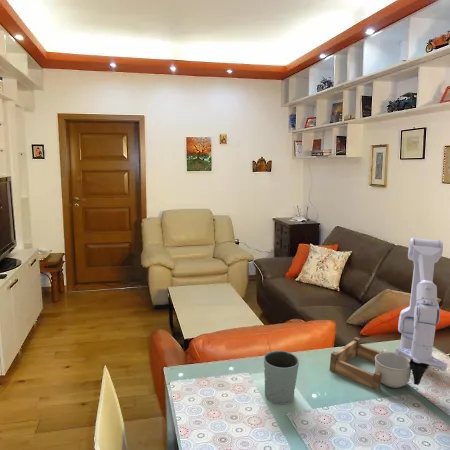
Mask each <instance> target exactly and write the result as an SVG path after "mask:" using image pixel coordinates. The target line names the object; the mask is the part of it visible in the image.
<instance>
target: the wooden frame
mask: <svg viewBox="0 0 450 450" xmlns="http://www.w3.org/2000/svg"><path fill="white" fill-rule="evenodd" d="M379 353H382V351H380V350H376V349H374V348H371V347H369V346H366V345H365V344H361V338H360V337H357V336H355V337H353V339H352V340H351V341H350V342H349V343H347V344H346V345H344V346H343V347H342V348H340V349H339V350H337V351H332V352H331V353H330V360H329V361H330V362H329V371H332V372H334V373H337V374H339V375H342V376H344V377H346V378H349V379H351V380H353V381H356V382H357V383H360V384H363V385H366V386H367V387H369V388H371V389H373V390H375V391H379V390H380V388H381V384H382V382H381V376H382V373H379V372H377V371H376V372H375V371H374V373H372V372H370V371H368V370H365V369H363V368H360V367H358V366H355V365H353V364H350V363H348V362H349V361H350V360H351V359H353V358H355V357H356V356H357V357H359V358H363V359H365V360H368V361H371V362H373V363H375V356H376V355H377V354H379Z"/></svg>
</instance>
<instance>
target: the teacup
mask: <svg viewBox="0 0 450 450" xmlns="http://www.w3.org/2000/svg"><path fill="white" fill-rule="evenodd" d="M381 352H382V353H379V354H377V355H376V356H375V362H374V373H375V372H376V371H377V372H379V373H382V376H381V384H383V385H384V386H387V387H390V388H395V389H396V388H398V389H399V388H401V387H403V386H405V385H407V384H409V381H410V380H411V373H412V370H411V367H410V365H409V362H410V359H409V358H407V357H404V356H402V355H396V354H395V352H392V351H391V352H390V351H389V350H388V349H382V350H381Z"/></svg>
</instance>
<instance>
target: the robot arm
mask: <svg viewBox="0 0 450 450" xmlns="http://www.w3.org/2000/svg"><path fill="white" fill-rule="evenodd" d="M443 251H444V244H443V241H442V240H440V239H438V240H437V239H436V240H435V239H427V238H417V237H410V239H409V243H408V251H407V258H408V260H409V261H412V263H413V270H412V272H413V273H412V282H411V291H410V298H409V299H410V300H409V306H408V307H407V306H406V307H405V308H403V309H402V310H401V311H400V312H399V317H398V324H397V327H398V328H397V330H398V332H399V333H401V337H400V343H399V344H400V345H399V346H397V347H396V349H395V352H394V353H395V354H396V355H402V356H404V357H407V358H409V359H410V362H409V365H410V367H411V373H412V377H413V384H414V385H416V386H419V385H420V384H421V381H422V378H423V376H424V374H425V372H426V371H427V369H428V368H429V367H433V368H434V369H438V370H440V371H441V372H444V373H445V372H446V371H447V368H448V363H446V362H444V361H442V360H440V359H439V358H436V357H435V356H433V348H434V340H435V333H436V328H437V326H438V325H439V323H440V319H441V310H440V306H439V302H438V287H437V284H435V283H434V282H433V281H434V271H435V270H434V269H435V264H436V263H438V262H439V260H440V259H441V257H442V255H443Z"/></svg>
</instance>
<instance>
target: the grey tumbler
mask: <svg viewBox="0 0 450 450" xmlns="http://www.w3.org/2000/svg"><path fill="white" fill-rule="evenodd" d="M299 364H300V359H299V358H298V356H297V355H296V354H294V353H291V352H290V351H284V350H273V351H269V352H267V353H266V354H265V355H264V356H263V366H264V371H263V372H264V396H265V398H266V399H267V401H269V402H271V403H273V404H276V405H286V404H290V403H291V402H292V401H293V400H294V397H295V389H296V386H297V385H296V383H297V378H298V377H297V376H298V370H299Z"/></svg>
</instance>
